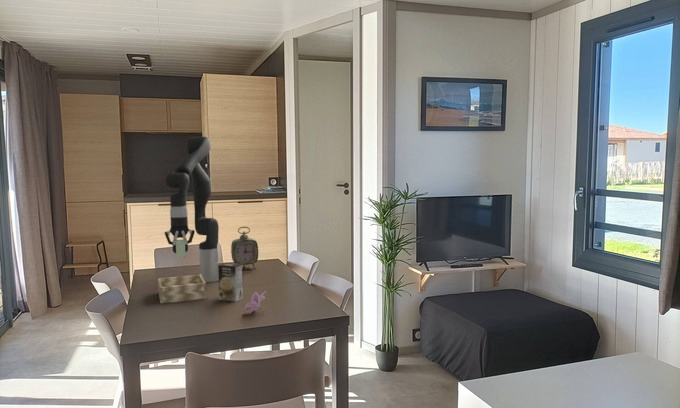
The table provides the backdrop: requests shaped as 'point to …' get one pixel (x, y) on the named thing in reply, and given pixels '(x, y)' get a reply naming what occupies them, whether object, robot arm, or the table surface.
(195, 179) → the robot arm
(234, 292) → the coffee box
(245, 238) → the tabletop clock
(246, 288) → the table surface
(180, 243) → the peg
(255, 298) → the lily
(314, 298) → the table surface
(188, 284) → the box
